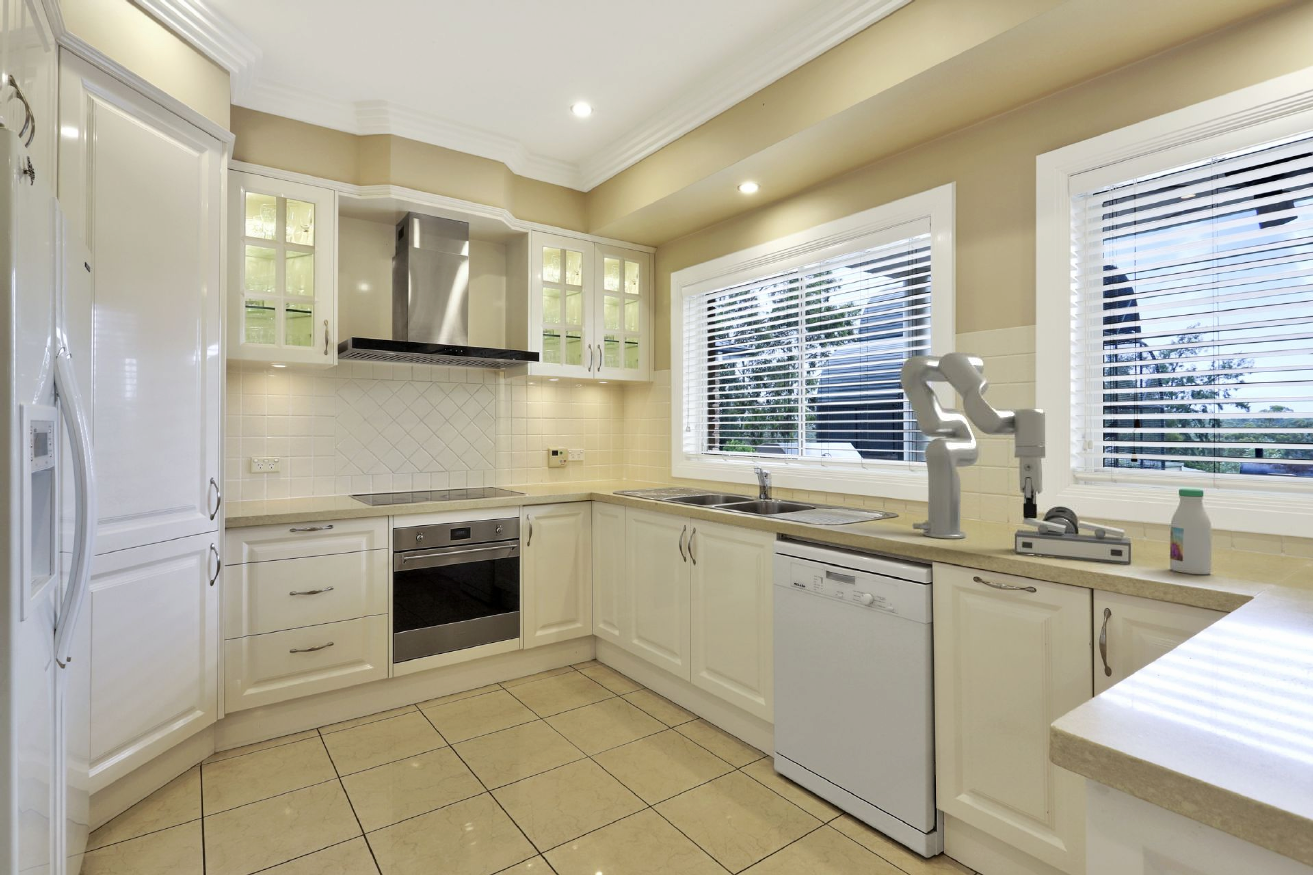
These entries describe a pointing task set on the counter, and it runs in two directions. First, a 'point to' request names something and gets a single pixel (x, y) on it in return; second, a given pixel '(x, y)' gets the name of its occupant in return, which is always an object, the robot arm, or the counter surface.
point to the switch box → (1074, 546)
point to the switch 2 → (1101, 529)
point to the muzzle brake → (1063, 519)
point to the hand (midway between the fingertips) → (1030, 517)
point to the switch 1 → (1044, 525)
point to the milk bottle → (1190, 535)
